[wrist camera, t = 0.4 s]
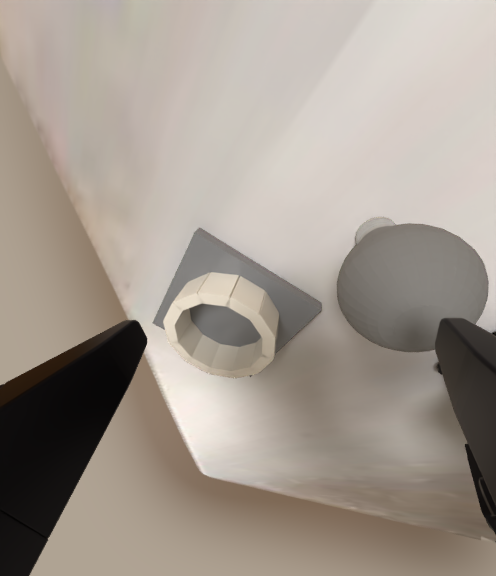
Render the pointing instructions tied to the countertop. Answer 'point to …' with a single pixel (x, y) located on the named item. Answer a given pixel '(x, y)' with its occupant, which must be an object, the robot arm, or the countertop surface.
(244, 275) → the socket
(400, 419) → the countertop surface
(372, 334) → the light bulb
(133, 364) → the robot arm
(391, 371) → the countertop surface
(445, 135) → the countertop surface
